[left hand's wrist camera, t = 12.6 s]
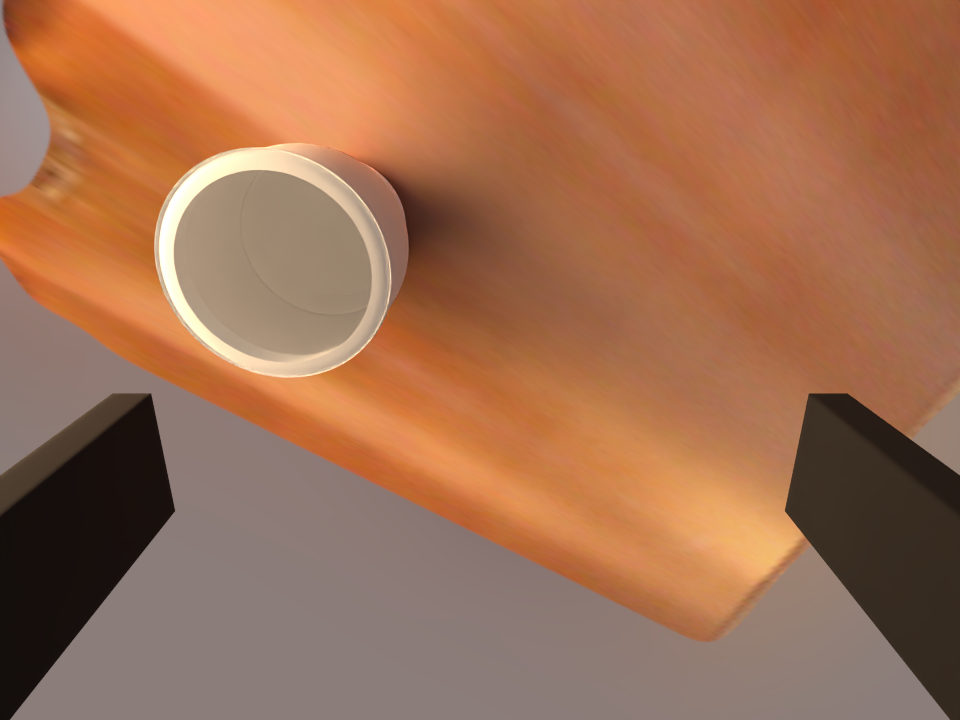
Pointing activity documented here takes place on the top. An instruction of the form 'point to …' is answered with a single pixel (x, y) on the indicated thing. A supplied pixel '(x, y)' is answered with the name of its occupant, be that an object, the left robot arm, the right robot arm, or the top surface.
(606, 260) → the top surface
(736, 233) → the top surface
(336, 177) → the jar
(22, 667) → the left robot arm
